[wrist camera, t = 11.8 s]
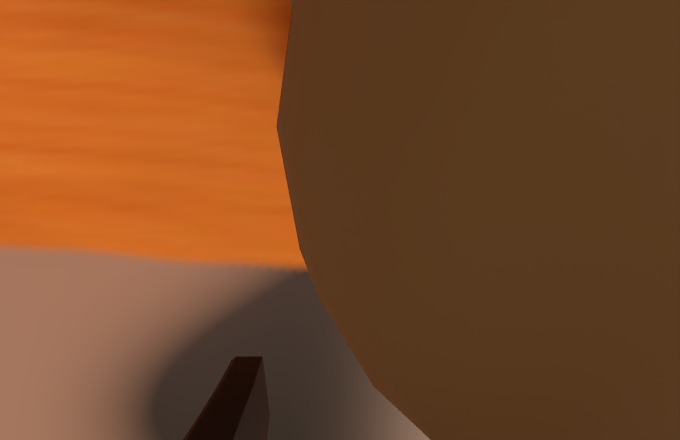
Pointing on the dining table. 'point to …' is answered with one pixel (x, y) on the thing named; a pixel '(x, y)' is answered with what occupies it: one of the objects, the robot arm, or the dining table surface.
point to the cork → (495, 207)
